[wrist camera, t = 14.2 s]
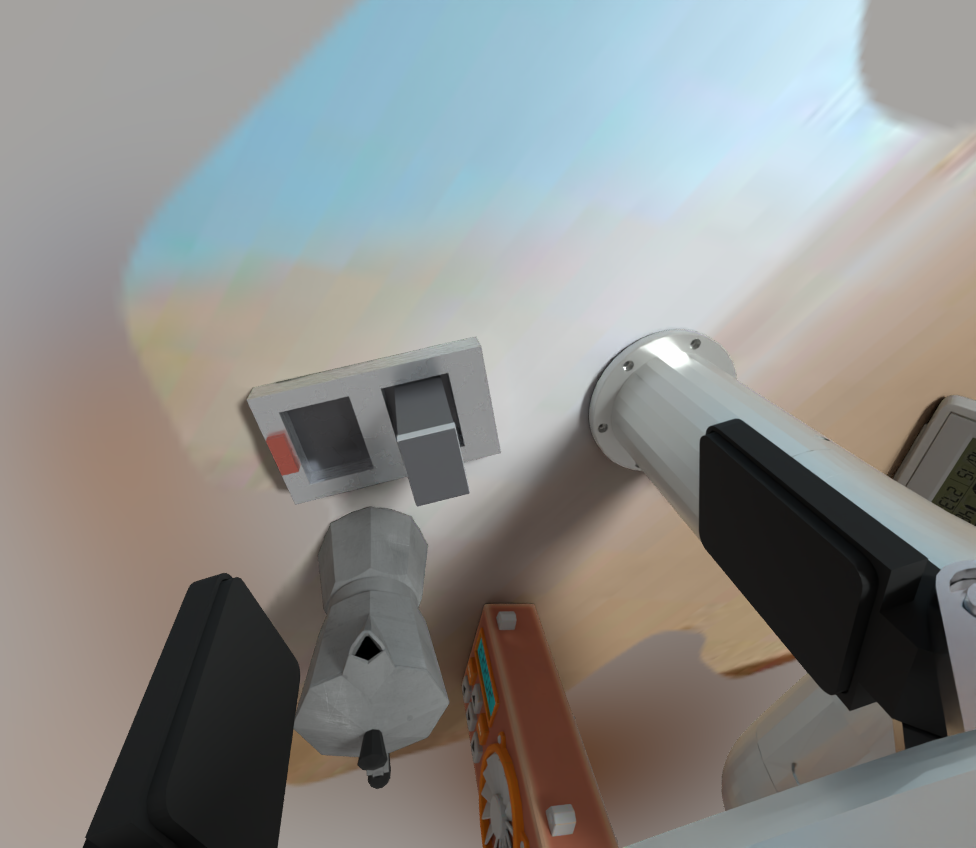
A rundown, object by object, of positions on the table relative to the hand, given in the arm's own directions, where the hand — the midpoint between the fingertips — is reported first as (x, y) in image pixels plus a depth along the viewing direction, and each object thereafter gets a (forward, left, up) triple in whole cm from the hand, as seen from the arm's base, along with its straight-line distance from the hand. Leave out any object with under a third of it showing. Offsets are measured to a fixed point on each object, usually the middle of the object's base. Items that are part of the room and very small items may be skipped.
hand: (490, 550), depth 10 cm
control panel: (-32, +23, -27) cm, 48 cm away
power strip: (-6, +9, -27) cm, 29 cm away
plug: (-7, +7, -27) cm, 28 cm away
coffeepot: (-14, +21, -27) cm, 37 cm away
